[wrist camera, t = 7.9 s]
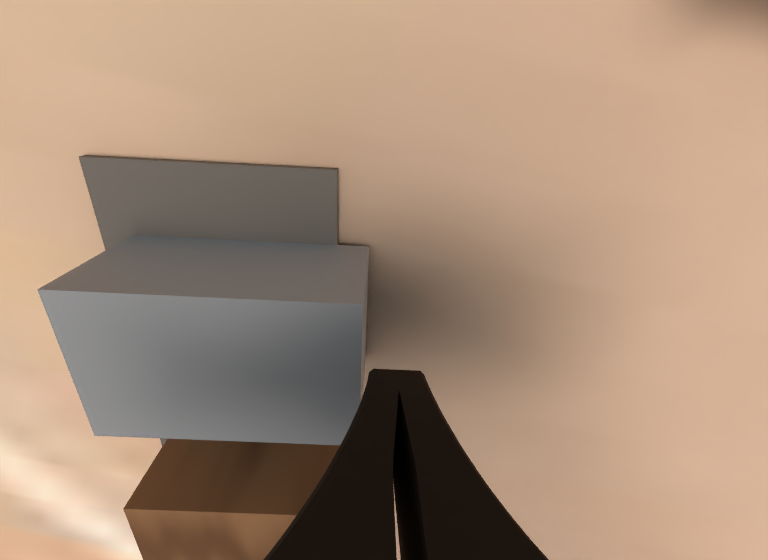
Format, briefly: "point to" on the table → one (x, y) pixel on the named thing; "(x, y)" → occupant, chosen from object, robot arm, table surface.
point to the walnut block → (222, 497)
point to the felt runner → (211, 200)
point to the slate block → (216, 338)
